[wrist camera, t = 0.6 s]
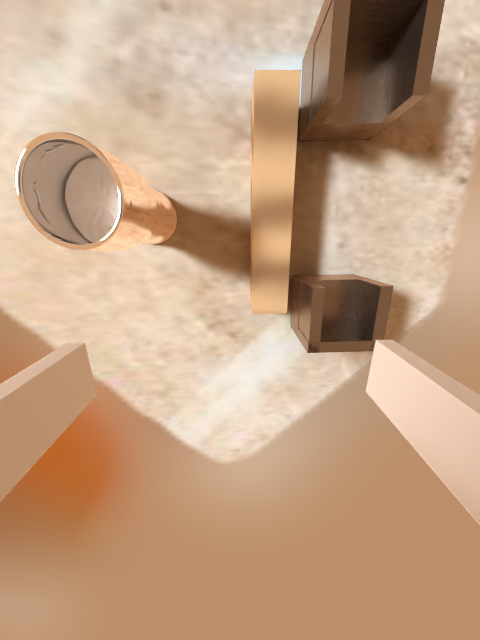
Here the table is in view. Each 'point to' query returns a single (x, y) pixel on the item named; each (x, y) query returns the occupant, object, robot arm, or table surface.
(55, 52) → the table surface
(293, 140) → the rail
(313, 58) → the brackets
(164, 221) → the shiny metal tumbler
